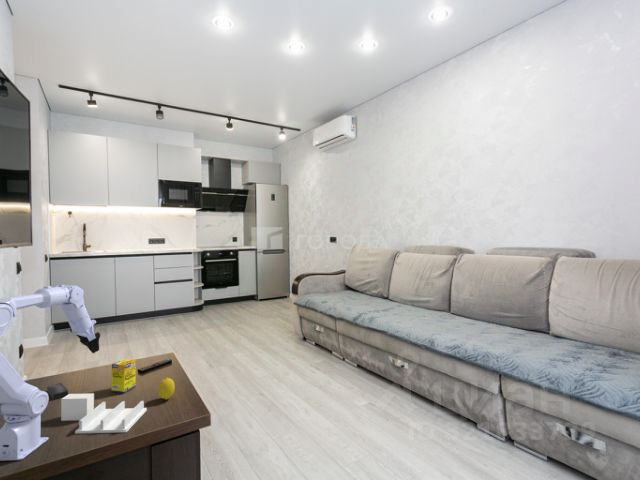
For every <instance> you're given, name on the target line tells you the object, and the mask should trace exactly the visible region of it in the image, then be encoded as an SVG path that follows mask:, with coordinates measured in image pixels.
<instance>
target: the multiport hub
mask: <svg viewBox="0 0 640 480" xmlns="http://www.w3.org/2000/svg"><path fill="white" fill-rule="evenodd" d="M46 393H47V394H48V396H49V397H50V398H51V400H52V401H55V400H60V399H62V398H64V397H65V396H67V395H68V394H69V390H68V389H67V388H66V387H65V386H64V385H63V384H62V382H60V383H55V384H52V385H48V386H46Z"/></svg>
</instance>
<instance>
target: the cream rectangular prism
mask: <svg viewBox="0 0 640 480" xmlns="http://www.w3.org/2000/svg"><path fill="white" fill-rule="evenodd" d="M60 399H61V400H60V401H61V402H60V403H61V405H60V406H61V413H60V414H61V415H60V420H61V421H62V422H64V421H66V422H67V421H80V420H81V419H82V418H83V417H85V416H86V415H87V414H88V413H90V412H91V411H92V410H93V409H95V406H94V405H95V393H68V395H67V396H65V397H64V398H60Z"/></svg>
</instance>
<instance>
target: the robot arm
mask: <svg viewBox="0 0 640 480" xmlns="http://www.w3.org/2000/svg"><path fill="white" fill-rule="evenodd" d="M84 294H85V293H84V289H83V288H81V287H80V286H78V285H75V284H74V285H67V284H58V285H56V286H54V287H53V286H52V285H46V286H43V287H42V288H39V289H37V290H36V291H34V293H33V294H32V293H31V294H24V295H15V296H13V295H12V296H7V297H6V296H5V297H0V339H1V338H2V337H3V336H4V333H5V332H6V331H7V329H8V327H9V326H10V324H11V323H12V321H13V318H14V317H17V315H18V314H17V313H18V312H17V311H18V310H21V309H25V308H30V307H34V306H36V307H37V308H39V309H47V308H50V307H55V306H60V307H61V309H62V312H63V314H64V316H65V318H66V320H67V322H68V324H69V327H70V329H69V332H71V333H72V334H73V335H75V336H77V338H78V339H79V342H80V344H81V345H83V346H85V347H87V348H88V350H89V351H90V352H91V353H92V354H95V353H97V352H99V351H100V337H101V333H100V332H99V331H96V332H95V333H94V325H95V324H96V323H97V321H96V320H95V319H91V318H90V317H91V316H90V315H89V312H88V310H87V308H86V306H85V299H84ZM49 398H50V395H49V394H48V393H47V391H43V390H40V389H39V388H38V387H37V386H34V385H32V384H29V383H27V382H26V381H25V380H24V378H23V377H21V375H20V374H19V373H18V371H17V370H16V369H15V368H14V367H13V365H12V364H11V363H10V362H9V361H8V359H7V357H5V356H4V355H3V354H2V352H1V351H0V415H1V416H3V421H5V422H4V424H3V426H2V427H1V428H0V462H1V461H3V462H4V461H22V460H23V459H25V458H26V457H27V456H28V455H30V454H32V453H33V452H34V451H35V450H37V449H38V448H39V447H40V446H42V445H43V444H44V443H46V442H47V441H48V440H49V439H50V438H49V437H47V436H46V437H45V436H44V437H43V436H42V435H41V433H42V432H41V431H42V430H41V429H42V426H41V425H42V423H41V417H42V416H41V415H42V413H44V411H45V409H47V407H48V403H49V400H50V399H49ZM41 436H42V437H41Z"/></svg>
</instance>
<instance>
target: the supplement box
mask: <svg viewBox="0 0 640 480" xmlns="http://www.w3.org/2000/svg"><path fill="white" fill-rule="evenodd" d="M136 362H137V360H136V359H128V358H123V359H120V360H118V361H116V362H113V363H111V383H110V385H111V387H110V389H111V391H110V392H111V393H114V394H115V393H116V394H126V393H127V392H129V391H131V390H132V389H135V388H136V376H137V374H136V372H137V371H136V368H137V367H136V365H137V364H136Z"/></svg>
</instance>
